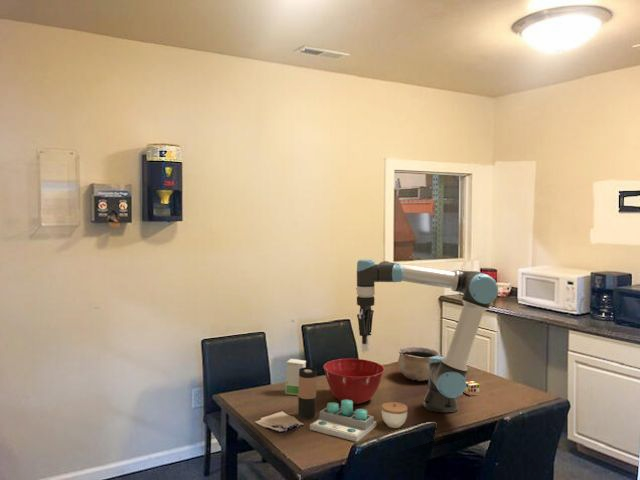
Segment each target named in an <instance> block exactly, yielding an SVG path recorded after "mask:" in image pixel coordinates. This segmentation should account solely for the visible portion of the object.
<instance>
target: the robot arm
mask: <svg viewBox="0 0 640 480" xmlns="http://www.w3.org/2000/svg"><path fill="white" fill-rule="evenodd" d="M401 282H407V283H412V284H413V283H414V284H420V285H426V286H432V287H439V288H445V289H451V290H452V291H453V292H456V293H461V294H462V297H461V302H462V304H463V306H462V309H461V312H460V314H459V318H458V320H457V321H458V322H457V324H456V326H455V329H454V333H453V335H452V339H451V342H450V344H449V347H448V351H447V353H446V356H441V355H440V356H435V357H431V358H430V359H429V378H428V380H427V381H428V382H427V385H428V387H427V391H426V393H425V397H424V399H423V407H424V408H425V409H426V410H427V411H431V412H433V411H435V412H434V413H437V412H451V411H455V410H456V409H457V408H459V404H458V399H457V398H458V397H460V396H461V395H463V394H464V393H463V392H464V391H465V389H466V382H467V380H466V378H467V374H468V372H469V369H468V366H467V361H468V359H469V356H470V353H471V350H472V347H473V344H474V342H475V339H476V335H477V333H478V329H479V327H480V324H481V320H482V318H483V314H484V312H486V311H487V310H488V311H489V309H490V306H491V303H493V302H494V300H495V299H497V296H498V294H499V286H498V283H497V282H496V280H495V279H494V278H493V277H492V276H490V275H489V274H486V273H483V272H481V271H477V270H475V271H474V270H461V269H460V270H459V269H455V270H454V271H450V270H444V269H443V270H442V269H437V268H431V267H425V266H424V267H423V266H417V265H410V264H404V263H403V264H402V263H396V262H390V261H387V260H383V261H380V262H379V263H378V264H376V262H375V260H373V259H365V258H363V259H359V260H358V261H357V263H356V288H355V290H356V295H357V296H356V305H357V306H359V313H357V314H356V317H357V321H358V332H359V333H358V334H359V336H361V352H369V351H370V336H372V330H373V329H372V326H373V318H374V317H373V316H374V312H375V311H374V310H373V309H372V307H373V306H375V283H394V284H395V283H401ZM457 410H458V409H457ZM455 412H456V411H455Z"/></svg>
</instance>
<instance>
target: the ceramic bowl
mask: <svg viewBox="0 0 640 480" xmlns="http://www.w3.org/2000/svg"><path fill="white" fill-rule="evenodd" d="M398 352H399V356H398V359H397V363H398V369H399V370H400V371H401V373H402V375H403V376H404V377H405V378H407V379H408V380H410V379H411V380H410V381H414V380H417V381H416V382H425V380H426V381H428V378H429V359H430V358H431V357H435V356H441V353H440V352H438V351H436V350H435V349H430V348H427V347H419V346H417V347H416V346H407V347H400V348H399V350H398Z"/></svg>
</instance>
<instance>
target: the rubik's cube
mask: <svg viewBox="0 0 640 480" xmlns="http://www.w3.org/2000/svg"><path fill="white" fill-rule="evenodd" d="M480 387H481V385H480V383H477V382H476V381H474V380H470V381H466V389H465V391H466V392H468V393H476V392H479V393H480Z"/></svg>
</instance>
